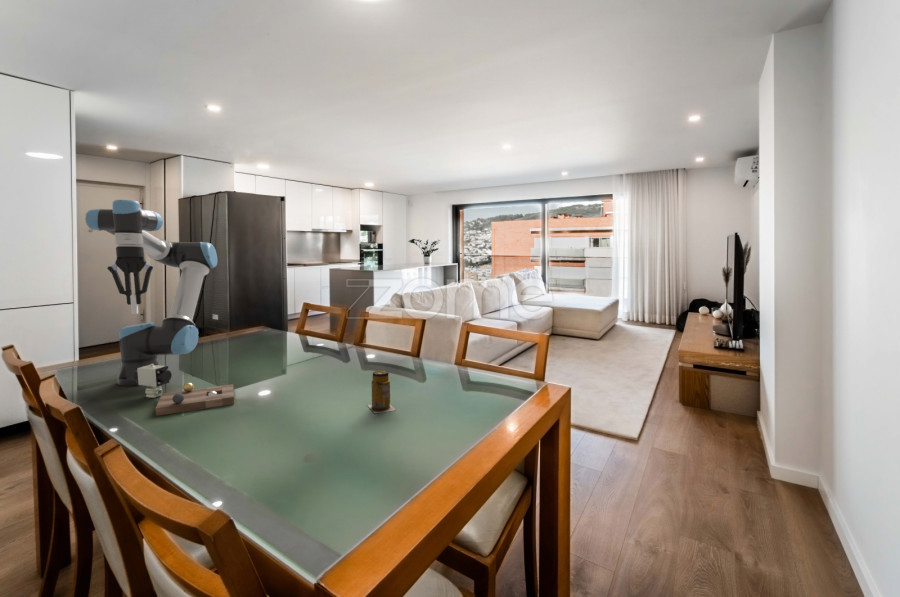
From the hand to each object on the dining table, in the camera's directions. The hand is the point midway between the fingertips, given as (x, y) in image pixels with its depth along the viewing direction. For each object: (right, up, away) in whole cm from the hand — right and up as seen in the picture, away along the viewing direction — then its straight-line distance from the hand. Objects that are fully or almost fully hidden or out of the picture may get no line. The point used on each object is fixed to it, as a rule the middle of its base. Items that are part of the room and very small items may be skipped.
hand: (135, 313), depth 144 cm
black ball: (+21, -27, -10) cm, 36 cm away
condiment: (+88, -31, -7) cm, 93 cm away
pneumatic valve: (+4, -30, +5) cm, 31 cm away
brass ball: (+18, -26, +2) cm, 32 cm away
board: (+23, -31, -2) cm, 38 cm away
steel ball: (+27, -29, 0) cm, 39 cm away
